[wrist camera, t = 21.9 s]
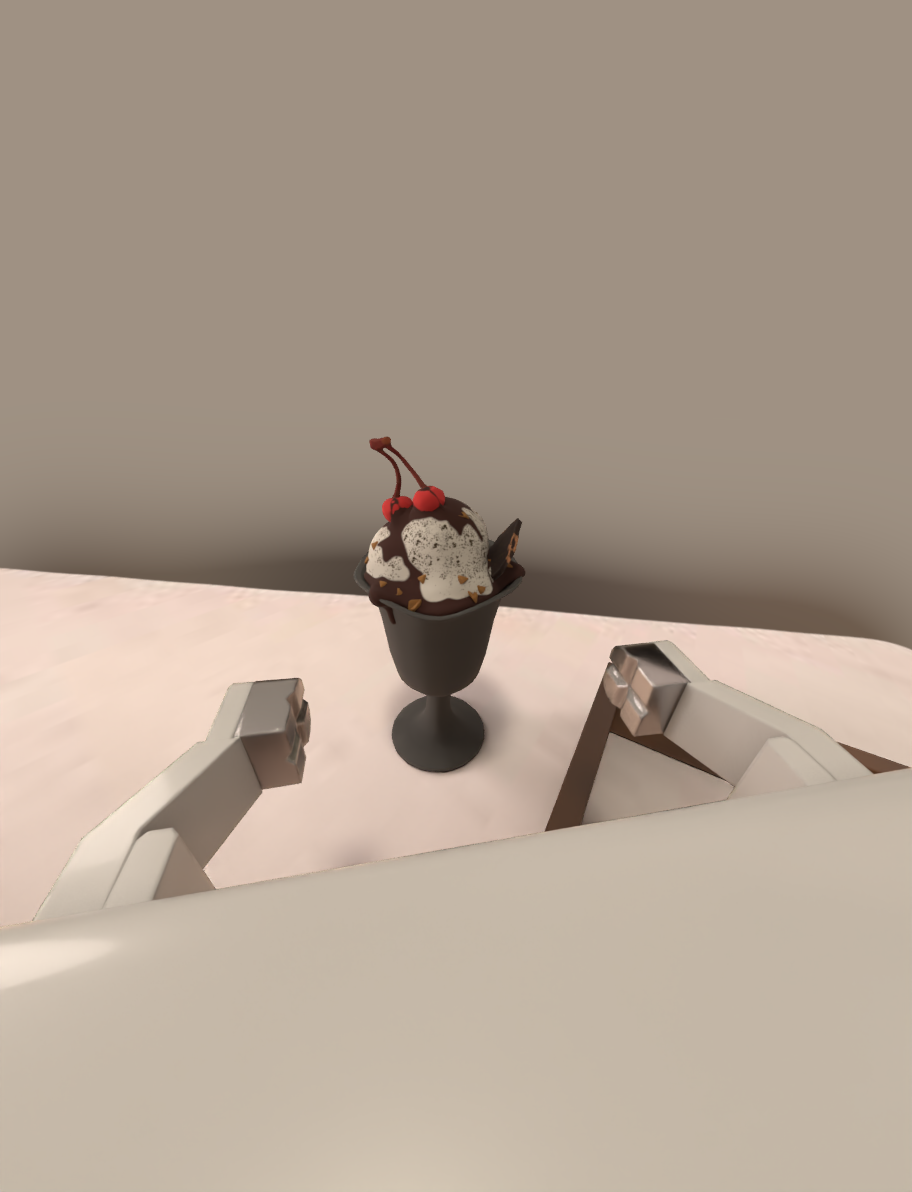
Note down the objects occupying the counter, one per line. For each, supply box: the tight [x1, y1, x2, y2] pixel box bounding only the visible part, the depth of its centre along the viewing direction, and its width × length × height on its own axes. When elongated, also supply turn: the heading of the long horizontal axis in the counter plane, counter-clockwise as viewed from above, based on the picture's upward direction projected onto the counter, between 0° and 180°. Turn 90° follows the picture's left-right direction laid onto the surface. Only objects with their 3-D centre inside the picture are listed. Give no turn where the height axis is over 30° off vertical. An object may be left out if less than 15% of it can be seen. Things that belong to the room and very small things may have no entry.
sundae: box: [354, 437, 525, 772], centre depth 17 cm, size 7×7×15 cm
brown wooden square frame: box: [545, 662, 911, 832], centre depth 14 cm, size 14×14×4 cm
